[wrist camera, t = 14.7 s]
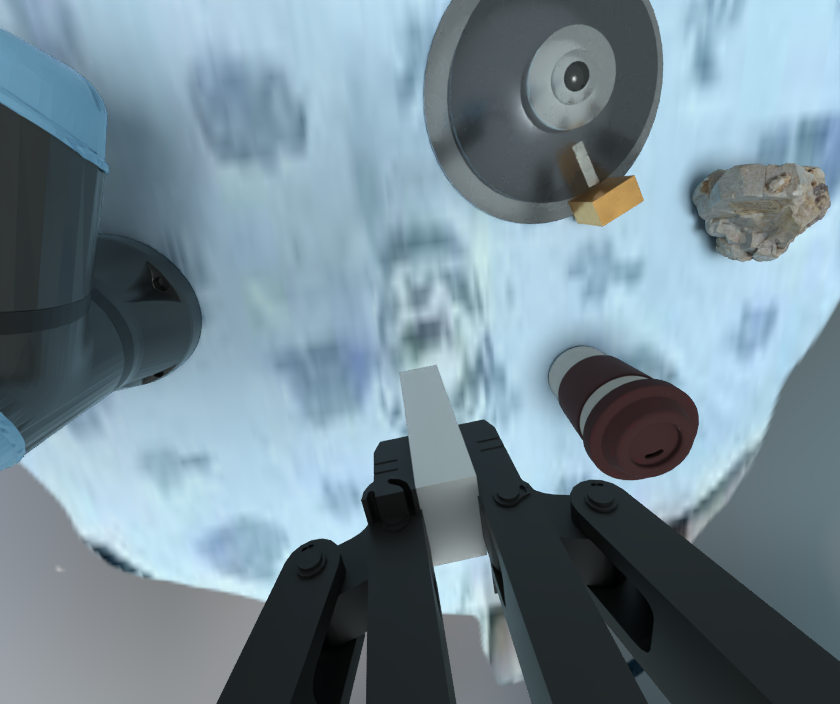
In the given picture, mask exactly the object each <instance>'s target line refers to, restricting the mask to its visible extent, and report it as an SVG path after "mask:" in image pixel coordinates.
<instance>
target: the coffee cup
mask: <svg viewBox="0 0 840 704" xmlns="http://www.w3.org/2000/svg"><path fill="white" fill-rule="evenodd" d="M549 385H550V388H551V390H552V392H553V393H554V395H555V396H556V398H557V399H558V401H559V404H560V406H561V408H562V410H563V412H564V413H565V415H566V416H567V418H568V419H569V421H570V422H571V424H572V425H573V427H574V428H575V430H576V431H577V433H578V434H579V436H580V437H581V439H582V440H583V443H584V447H585V450H586V452H587V454H588V456H589V457H590V459H591V460H592V461H593V463H594V464H595V465H596V466H597V468H598V469H600V470H601V471H602V472H603V473H605V474H606V475H608V476H610V477H613V478H616V479H621V480H639V479H645V478H649V477H656V476H659V475H662V474H664V473H666V472H669V471H671V470H672V469H674V468H675V467H676V466H678V465H679V464H680V463H681V462H682V461H683V460H684V459H685V458H686V456H687V455H688V454H689V452H690V450H691V448H692V445H693V442H694V439H695V437H696V434H697V430H698V425H699V416H698V411H697V408H696V406H695V404H694V402H693V400H692V399H691V398H690V397H689V396H688V395H687V394H686V393H685V392H683V391H682V390H680V389H679V388H677V387H676V386H674V385H672V384H671V383H668V382H666V381H663V380H658V379H653V378H651V377H650V376H648V375H646V374H644V373H643V372H641V371H639V370H637V369H635V368H634V367H632V366H630V365H628V364H626V363H624V362H623V361H621V360H619V359H617V358H615V357H612V356H608V355H606V354H604V353H603V352H601V351H599V350H597V349H595V348H592V347H587V346H580V347H574V348H571V349H569V350H567V351H565V352H564V353H562V354H561V355H560V356H559V357H558V358H557V359H556V360H555V361H554V363H553V365H552V366H551V369H550V372H549Z"/></svg>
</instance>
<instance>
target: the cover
mask: <svg viewBox="0 0 840 704" xmlns="http://www.w3.org/2000/svg"><path fill="white" fill-rule="evenodd" d="M615 77H616V63H615V57H614V54H613V50H612V48H611V46H610V44H609V42H608V41H607V39H606V38H605V37H604V36H603V35H602V34H601V33H600V32H599V31H598V30H596V29H594V28H592V27H590V26H587V25H578V24H576V25H570V26H566V27H564V28H562V29H560V30H558V31H556V32H555V33H553V34H552V35H551V36H550V37H549V38H548V39H547V40H546V41H545V42H544V43H543V44H542V45H541V46H540V47H539V48H538V49H537V50H536V51H535V52H534V53H533V54H532V56H531V57H530V59H529V60H528V62H527V64H526V66H525V69H524V71H523V75H522V79H521V85H520V97H521V103H522V107H523V109H524V112H525V114H526V116H527V118H528V119H529V120H530V122H531V123H532V124H533V125H534V126H536V127H537V128H538V129H540V130H542V131H544V132H547V133H552V134H559V133H564V132H568V131H570V130H573V129H576V128H578V127H581V126H583V125H585V124H587V123H589V122H590V121H592V120H593V119H594V118H595V117H596V116H597V115H598V114H599V113H600V112H601V111H602V110H603V108H604V107H605V105H606V104H607V102H608V100H609V98H610V96H611V93H612V91H613V87H614V83H615Z"/></svg>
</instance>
